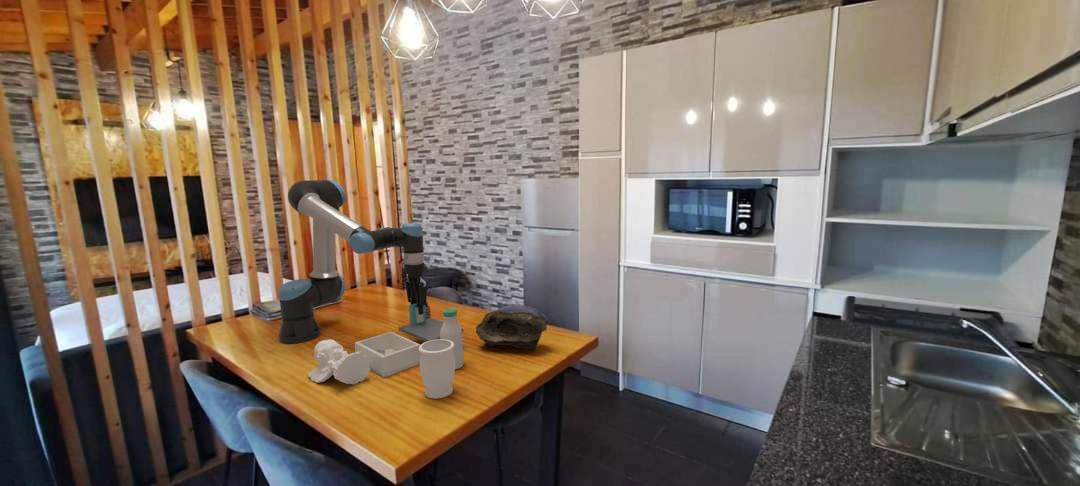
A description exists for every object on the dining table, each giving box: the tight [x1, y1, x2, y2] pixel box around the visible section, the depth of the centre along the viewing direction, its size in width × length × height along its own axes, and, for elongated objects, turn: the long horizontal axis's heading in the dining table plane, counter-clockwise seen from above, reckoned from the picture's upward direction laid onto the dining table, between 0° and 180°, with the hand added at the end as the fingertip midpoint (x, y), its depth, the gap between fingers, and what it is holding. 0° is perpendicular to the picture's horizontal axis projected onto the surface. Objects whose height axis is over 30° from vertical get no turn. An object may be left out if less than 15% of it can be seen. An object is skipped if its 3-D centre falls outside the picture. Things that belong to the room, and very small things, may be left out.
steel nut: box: [374, 349, 386, 356], centre depth 153 cm, size 4×4×2 cm
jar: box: [419, 339, 456, 400], centre depth 129 cm, size 11×10×15 cm
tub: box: [354, 331, 421, 378], centre depth 151 cm, size 20×14×7 cm
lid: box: [398, 303, 465, 343], centre depth 163 cm, size 21×15×10 cm
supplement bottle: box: [425, 300, 432, 319], centre depth 187 cm, size 6×6×11 cm
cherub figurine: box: [308, 338, 371, 385], centre depth 140 cm, size 13×12×20 cm
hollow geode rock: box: [475, 311, 548, 350], centre depth 164 cm, size 28×13×15 cm
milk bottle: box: [440, 308, 465, 370], centre depth 147 cm, size 8×8×20 cm
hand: (418, 321), depth 169 cm, fingers closed on lid, 2 cm apart
